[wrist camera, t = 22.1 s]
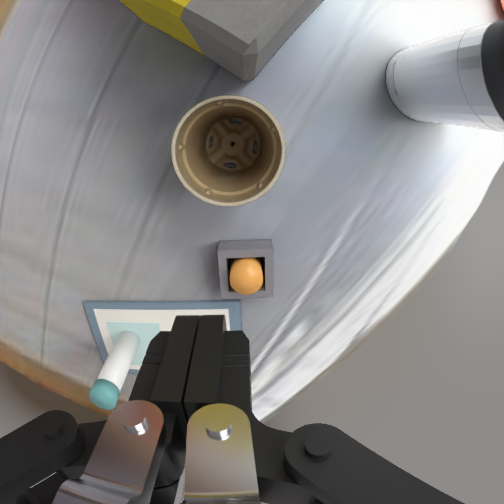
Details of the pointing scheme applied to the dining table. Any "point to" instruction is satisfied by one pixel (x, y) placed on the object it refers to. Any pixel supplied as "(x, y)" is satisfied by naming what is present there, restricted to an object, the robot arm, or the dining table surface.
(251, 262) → the button
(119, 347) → the marker
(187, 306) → the placemat
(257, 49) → the emergency stop button
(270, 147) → the flower pot
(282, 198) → the dining table surface
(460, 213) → the dining table surface
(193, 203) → the dining table surface
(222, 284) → the button housing
